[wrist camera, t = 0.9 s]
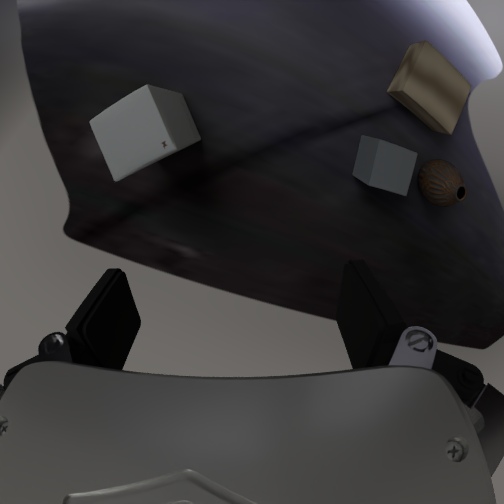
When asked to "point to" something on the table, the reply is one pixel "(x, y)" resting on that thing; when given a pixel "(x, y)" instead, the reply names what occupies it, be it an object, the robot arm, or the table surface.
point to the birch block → (430, 87)
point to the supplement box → (143, 129)
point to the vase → (441, 183)
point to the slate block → (384, 165)
